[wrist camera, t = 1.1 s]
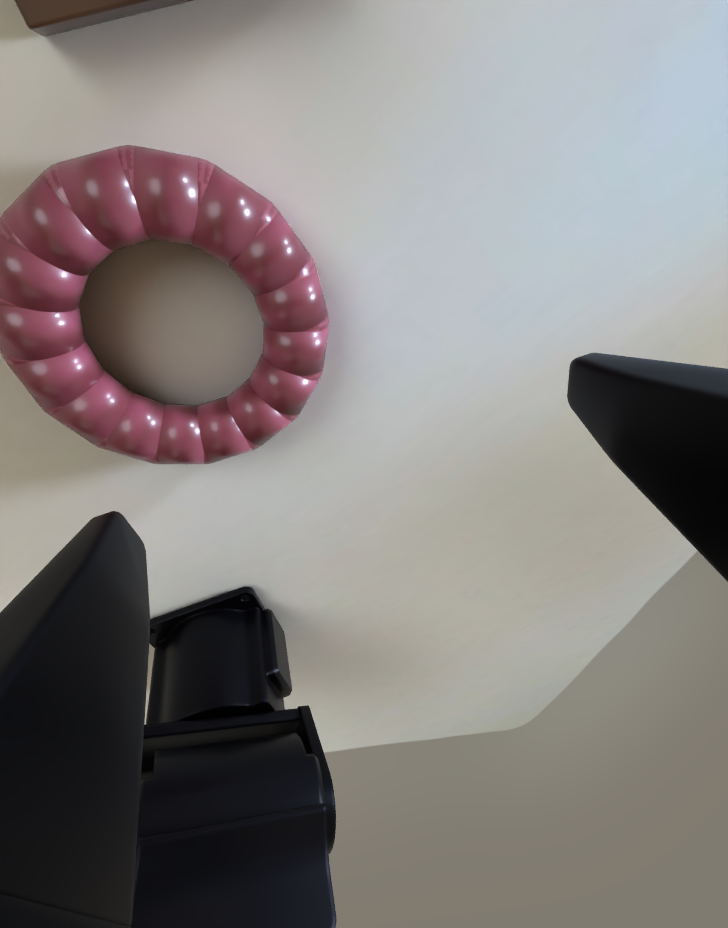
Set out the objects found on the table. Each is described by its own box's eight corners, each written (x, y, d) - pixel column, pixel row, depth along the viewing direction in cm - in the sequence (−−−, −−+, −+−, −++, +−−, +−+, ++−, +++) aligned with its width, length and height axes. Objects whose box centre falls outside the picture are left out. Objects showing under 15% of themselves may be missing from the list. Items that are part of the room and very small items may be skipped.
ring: (115, 475, 20) (105, 510, 18) (-85, 201, 13) (-133, 212, 11) (347, 399, 21) (360, 425, 19) (269, 106, 14) (277, 102, 12)
